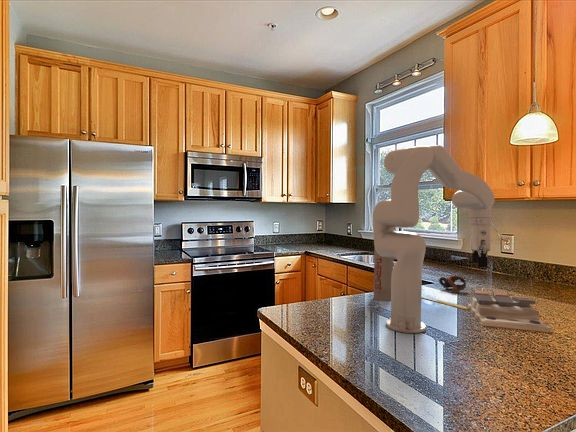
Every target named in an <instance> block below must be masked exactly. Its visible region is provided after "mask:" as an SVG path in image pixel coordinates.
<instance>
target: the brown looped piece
mask: <svg viewBox="0 0 576 432" xmlns="http://www.w3.org/2000/svg"><path fill="white" fill-rule="evenodd" d="M456 281H460V282H461V283H462V284H459V283H457V284H456ZM438 282H439V284H440V285H441V286H442V287H443V288H444V289H446V290H447V289H449V288H452V289H451V292H452V293H454V294H455V293H456V292H461V291H464V290H465V289H466V287H467V281H466V280H465V278H463V277H461V276H460V275H459V276H458V275H450V276H449V277H448V278H447V277H444V276H442V277H440V278H439V279H438Z"/></svg>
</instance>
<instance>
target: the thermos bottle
mask: <svg viewBox="0 0 576 432" xmlns="http://www.w3.org/2000/svg"><path fill="white" fill-rule="evenodd" d="M373 250H374V251H373V252H374V255H373V258H374V259H373V272H374V273H373V274H374V276H373V299H375V300H378V301H381V302H382V301H384V302H385V301H386V302H387V301H389V302H390V301H391V276H392V270H393V268H394V259H392V258H386V257H382V256H380V255H379V254H378V253H377V252H376V249H375V247H374V249H373Z"/></svg>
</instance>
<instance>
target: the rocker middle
mask: <svg viewBox="0 0 576 432" xmlns="http://www.w3.org/2000/svg"><path fill="white" fill-rule="evenodd" d="M492 297H493V299H495V300H496V302H497V303H498V305H506V306H514V302H513V301H512V297H510V295H509V294H508V293H507V292H503V291H502V292H501V291H493V292H492Z"/></svg>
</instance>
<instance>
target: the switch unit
mask: <svg viewBox="0 0 576 432" xmlns="http://www.w3.org/2000/svg"><path fill="white" fill-rule="evenodd" d="M470 300H471V301H470V303H468V304H467V308H469V311H470V312H471V314H472V315H473V316H474V317H475V319H476V320H477V321H478V323H479V324H480V325H481V326H483V327H485V326H486V327H494V328H502V329H504V328H505V329H513V330H522V331H524V330H525V331H534V332H545V333H552V329H553V328H552V326H550V325H549V324H548V323H546V322H544V320H542V319H540V311H539V310H537V309H536V308H534V307H533V306H531V304H525V303H518V302H515V301H513V300H512V301H513V302H514V306H506V305H498V303H497V302H496V300H495V298H492V300H493V301H494V302H493V304H482V303H478V301H477V299H476V297H475V296H474V297H473V296H471V299H470Z"/></svg>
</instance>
